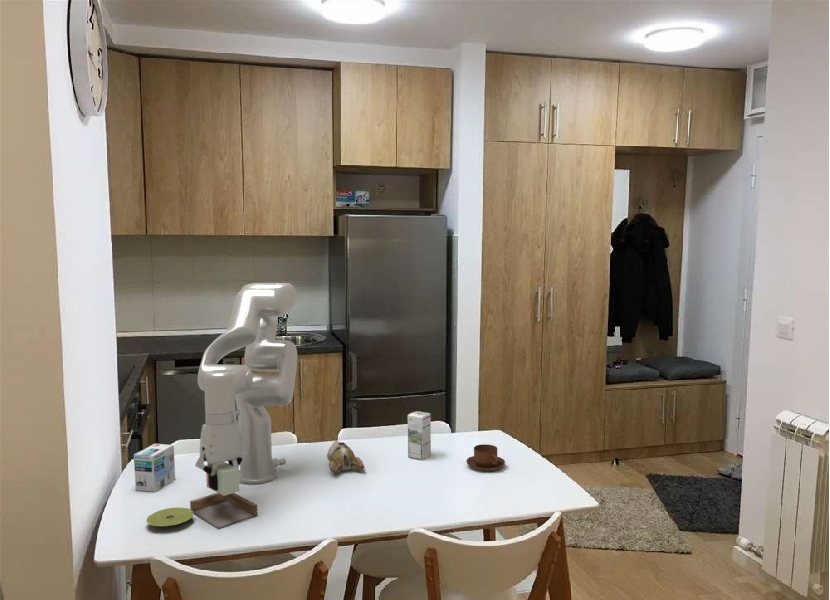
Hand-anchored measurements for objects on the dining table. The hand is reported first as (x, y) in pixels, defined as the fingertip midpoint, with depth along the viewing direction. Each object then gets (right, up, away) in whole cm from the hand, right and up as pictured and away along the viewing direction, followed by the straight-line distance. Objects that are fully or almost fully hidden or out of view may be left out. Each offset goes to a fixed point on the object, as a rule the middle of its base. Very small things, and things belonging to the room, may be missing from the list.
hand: (222, 485), depth 171 cm
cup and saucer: (+72, -4, +34) cm, 80 cm away
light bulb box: (-26, -6, +21) cm, 34 cm away
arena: (0, -7, 0) cm, 7 cm away
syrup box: (+52, -3, +44) cm, 68 cm away
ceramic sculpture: (+28, -4, +33) cm, 44 cm away
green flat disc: (-12, -8, -5) cm, 15 cm away
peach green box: (0, -1, 0) cm, 1 cm away
